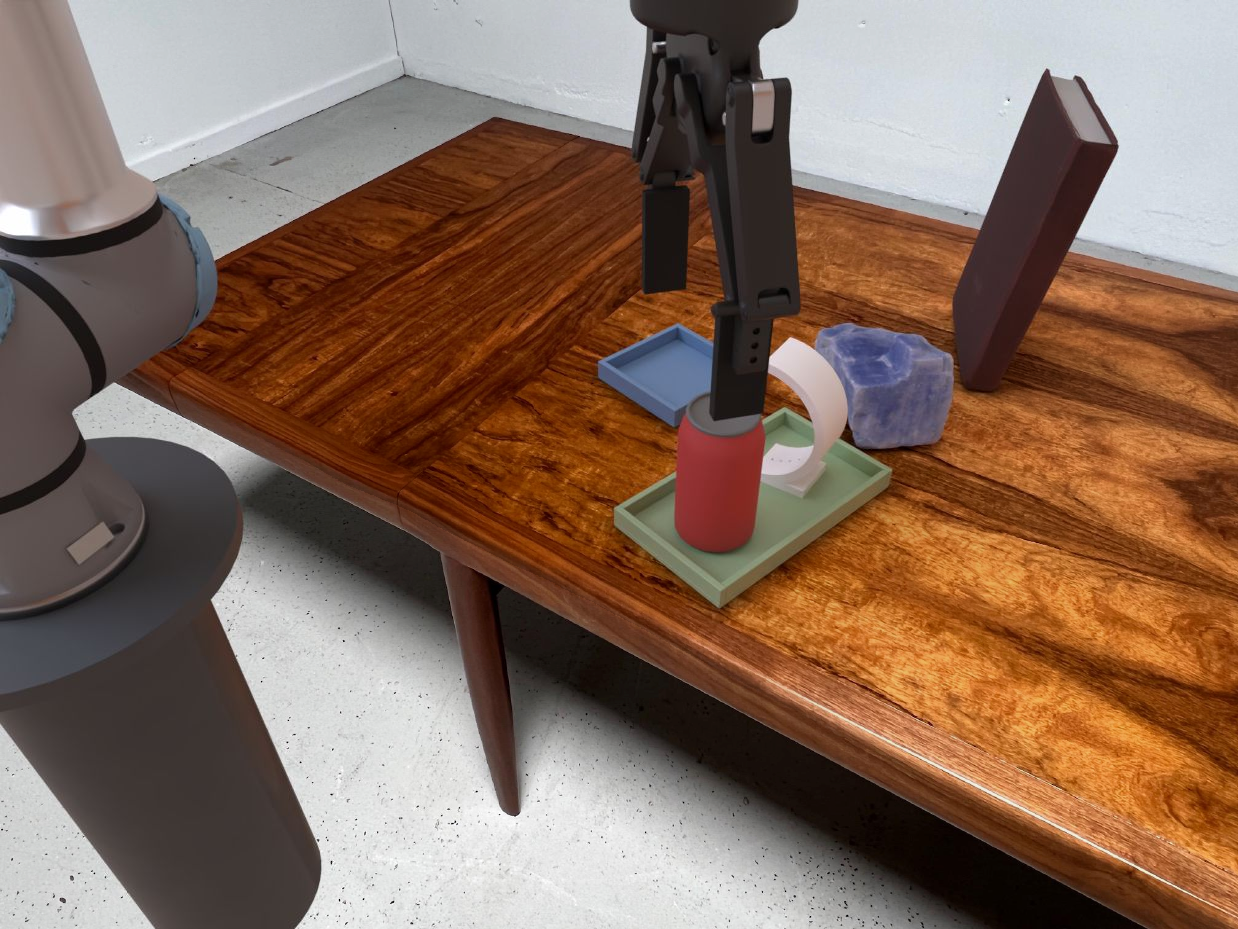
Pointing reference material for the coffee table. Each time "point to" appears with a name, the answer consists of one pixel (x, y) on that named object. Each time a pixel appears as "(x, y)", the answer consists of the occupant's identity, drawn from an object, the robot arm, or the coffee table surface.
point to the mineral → (890, 384)
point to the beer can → (717, 477)
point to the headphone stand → (826, 410)
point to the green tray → (757, 515)
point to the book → (1029, 225)
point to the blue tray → (662, 371)
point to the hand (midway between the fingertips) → (696, 345)
